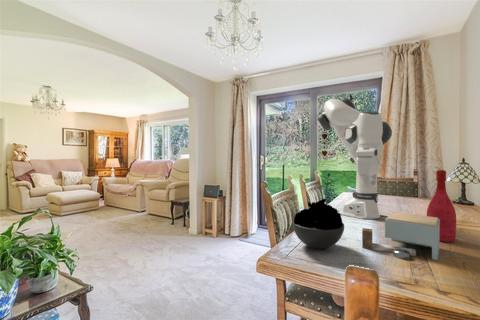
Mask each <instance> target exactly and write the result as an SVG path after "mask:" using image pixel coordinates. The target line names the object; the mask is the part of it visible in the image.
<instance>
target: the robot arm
mask: <svg viewBox="0 0 480 320" xmlns="http://www.w3.org/2000/svg"><path fill="white" fill-rule="evenodd" d="M323 111H324V112H322V113H320V114H319V116H317V120H316V121H317V123H318V126H319V127H320V128H321V129H323V130H324V131H329V130H332V128H333V129H334V132H335V133H336V135H337V137H338V139H339V140H340V141H341V143H342V144H343V146H344V147H345V149H346V150H347V152H348V153H349V156H351V158H352V160H353V161H354V162H355V164H356V176H355V178H356V179H355V182H356V183H355V189H356V190H355V191H353V192H352V197H351V198H350V199H348V200H347V201H346V202H344V203H343V206H342V209H340V210H339V211H338V213H340V214H341V216H347V217H351V218H354V219H355V218H357V219H362V220H368V219H371V220H373V219H379V218H381V215H380V212H379V211H380V210H379V205H378V204H379V203H378V202H379V193H378V174H380V173H381V157H382V156H384V151H383V150H384V147H383V146H384V145H385V144H386V143H388V141H389V140H390V139H391V138H392V134H393V130H392V128H391V126H390V124H389V123H388V122H387V121H383V118H382V115H381V113H380V112H379V111H360V110H358V109H357V108H356V104H355V102H354V101H352V100H351V99H350V98H347V97H346V98H343V99H338V98H330V99H328V100H327V101H325V103H324V106H323Z"/></svg>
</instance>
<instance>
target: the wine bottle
mask: <svg viewBox="0 0 480 320" xmlns="http://www.w3.org/2000/svg"><path fill="white" fill-rule="evenodd" d="M435 172H436V176H435V177H436V179H435V180H436V181H437V182H436V183H437V184H436V190H435V193H434V195H433V197H432V198H431V200H430V202H429V204H428V206H427V209H426V216H429V217H437V218H438V219H440V231H439V242H443V243H453V242H455V241H456V237H457V212H456V210H455V207H454V204H453V203H452V201H451V199H450V197H449V195H448V192H447V187H446V186H447V185H446V181H447V171H446V170H445V169H437V170H436V171H435Z"/></svg>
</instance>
